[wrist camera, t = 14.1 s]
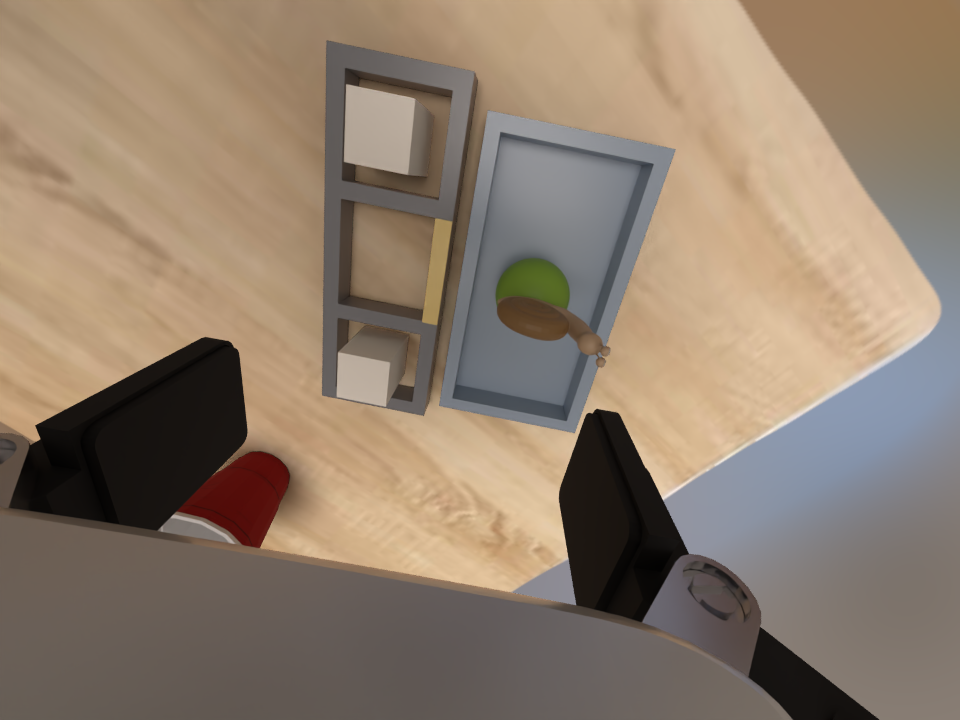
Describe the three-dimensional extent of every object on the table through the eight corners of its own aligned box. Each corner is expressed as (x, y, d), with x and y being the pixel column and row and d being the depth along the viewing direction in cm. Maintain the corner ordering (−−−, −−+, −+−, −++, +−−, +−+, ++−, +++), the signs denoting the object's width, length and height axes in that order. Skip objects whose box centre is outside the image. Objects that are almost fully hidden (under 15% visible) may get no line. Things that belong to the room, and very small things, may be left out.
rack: (342, 53, 26) (324, 38, 24) (478, 81, 26) (474, 70, 24) (333, 382, 37) (320, 397, 35) (429, 401, 37) (423, 417, 35)
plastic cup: (334, 480, 42) (273, 582, 31) (274, 521, 46) (200, 626, 35) (256, 412, 39) (159, 500, 28) (198, 461, 43) (91, 556, 32)
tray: (490, 119, 27) (488, 110, 24) (656, 153, 27) (675, 149, 24) (445, 386, 36) (439, 405, 33) (569, 411, 36) (574, 433, 33)
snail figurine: (564, 329, 32) (591, 403, 21) (489, 310, 32) (478, 375, 21) (586, 265, 30) (629, 311, 19) (506, 244, 30) (503, 280, 19)
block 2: (365, 325, 34) (338, 352, 29) (409, 334, 34) (390, 362, 29) (362, 364, 36) (336, 397, 31) (404, 373, 36) (385, 406, 31)
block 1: (379, 104, 27) (346, 84, 22) (434, 115, 27) (415, 98, 22) (375, 166, 29) (343, 161, 24) (427, 176, 29) (407, 175, 24)
